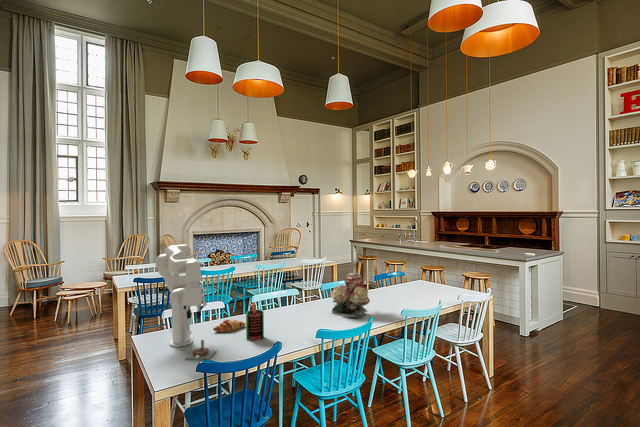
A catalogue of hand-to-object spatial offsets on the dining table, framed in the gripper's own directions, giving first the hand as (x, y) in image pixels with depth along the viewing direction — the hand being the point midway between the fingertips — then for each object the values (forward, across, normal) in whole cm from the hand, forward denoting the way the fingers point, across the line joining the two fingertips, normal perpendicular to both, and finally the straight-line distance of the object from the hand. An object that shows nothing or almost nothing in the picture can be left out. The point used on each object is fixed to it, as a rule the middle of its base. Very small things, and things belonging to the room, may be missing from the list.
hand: (193, 317), depth 187 cm
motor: (+20, -27, -23) cm, 41 cm away
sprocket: (+18, -4, +2) cm, 19 cm away
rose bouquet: (+20, -88, -71) cm, 115 cm away
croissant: (+20, -8, -37) cm, 43 cm away
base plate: (+19, -4, +2) cm, 20 cm away
